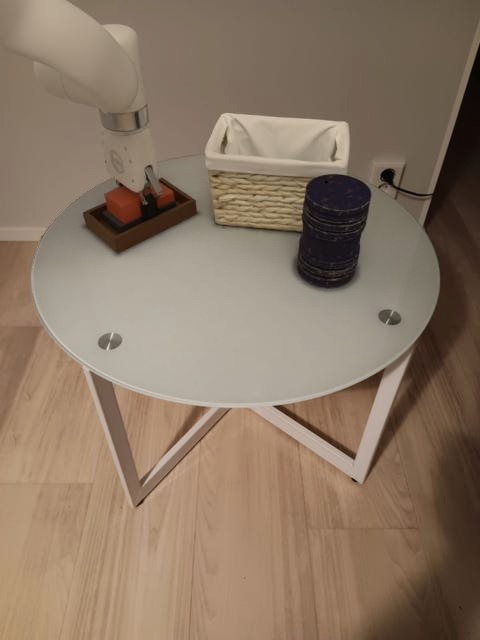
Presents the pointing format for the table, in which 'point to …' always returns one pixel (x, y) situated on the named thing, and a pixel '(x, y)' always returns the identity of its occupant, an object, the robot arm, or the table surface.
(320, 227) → the storage jar
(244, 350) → the table surface
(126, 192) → the shoe
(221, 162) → the basket
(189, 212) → the tray
